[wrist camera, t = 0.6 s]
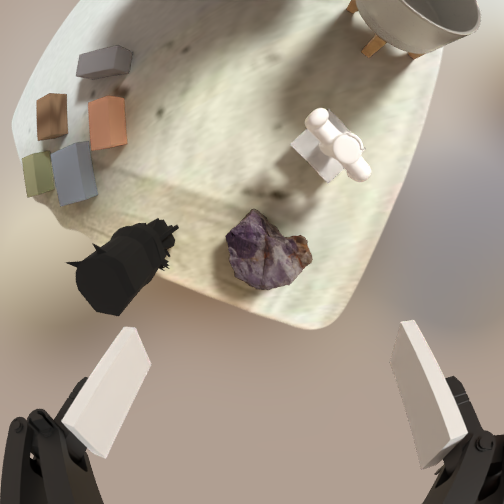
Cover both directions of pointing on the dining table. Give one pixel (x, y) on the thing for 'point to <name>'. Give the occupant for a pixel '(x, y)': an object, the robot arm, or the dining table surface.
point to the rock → (265, 253)
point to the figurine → (331, 147)
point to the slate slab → (74, 173)
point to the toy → (124, 265)
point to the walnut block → (52, 116)
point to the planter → (416, 23)
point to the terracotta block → (107, 122)
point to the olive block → (38, 173)
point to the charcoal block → (104, 62)
